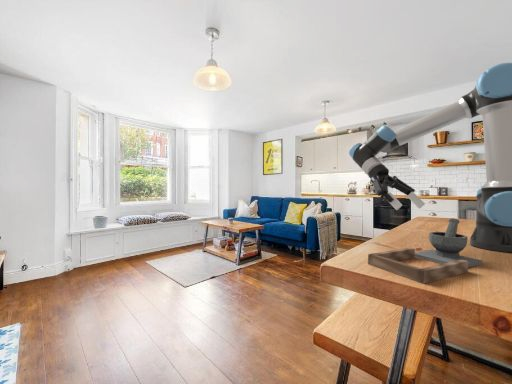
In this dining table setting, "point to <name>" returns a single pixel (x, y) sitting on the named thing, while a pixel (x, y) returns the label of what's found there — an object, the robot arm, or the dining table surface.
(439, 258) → the slate mat
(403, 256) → the rectangular wooden frame
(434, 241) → the mortar and pestle
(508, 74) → the robot arm
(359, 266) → the dining table surface
